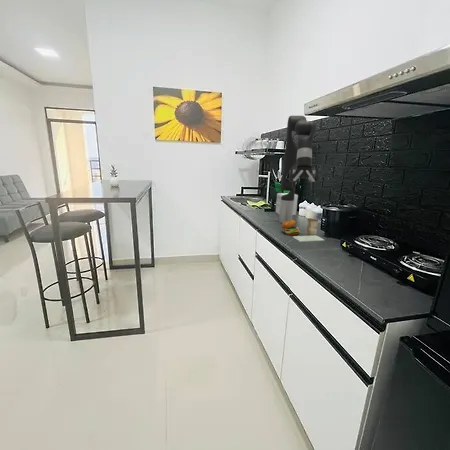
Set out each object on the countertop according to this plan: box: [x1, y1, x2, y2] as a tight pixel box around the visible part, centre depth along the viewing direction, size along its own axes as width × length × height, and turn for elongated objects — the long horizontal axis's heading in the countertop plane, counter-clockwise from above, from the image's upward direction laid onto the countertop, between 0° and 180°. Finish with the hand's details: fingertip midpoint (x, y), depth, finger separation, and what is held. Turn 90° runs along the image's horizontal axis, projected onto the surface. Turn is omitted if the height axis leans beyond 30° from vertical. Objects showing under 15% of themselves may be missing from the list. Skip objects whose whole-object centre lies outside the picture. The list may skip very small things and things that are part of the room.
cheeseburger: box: [281, 219, 301, 236], centre depth 161 cm, size 10×11×10 cm
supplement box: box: [275, 192, 299, 216], centre depth 219 cm, size 13×13×18 cm
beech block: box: [305, 217, 319, 236], centre depth 160 cm, size 4×4×10 cm
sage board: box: [292, 234, 325, 243], centre depth 151 cm, size 16×9×1 cm, turn 103°
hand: (303, 189), depth 127 cm, fingers open, 8 cm apart
